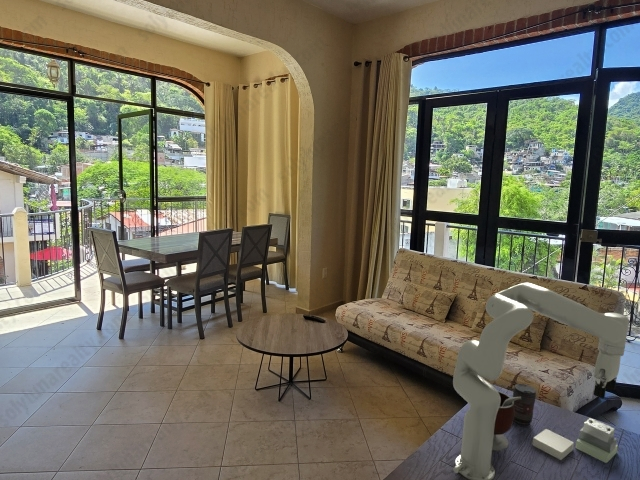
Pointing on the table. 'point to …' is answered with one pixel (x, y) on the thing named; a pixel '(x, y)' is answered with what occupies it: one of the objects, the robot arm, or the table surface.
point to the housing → (598, 435)
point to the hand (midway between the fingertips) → (604, 392)
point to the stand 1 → (553, 444)
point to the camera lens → (523, 404)
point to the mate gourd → (503, 421)
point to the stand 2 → (595, 451)
